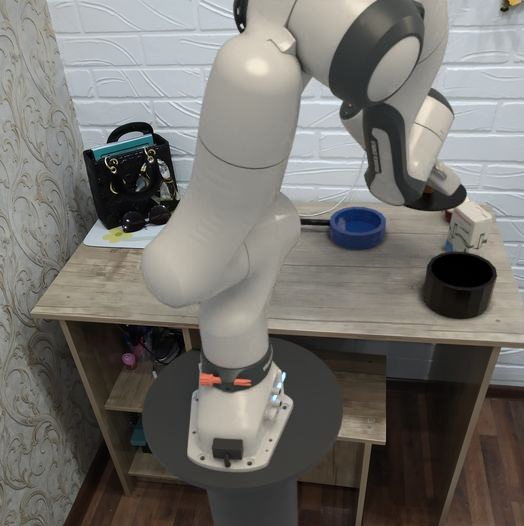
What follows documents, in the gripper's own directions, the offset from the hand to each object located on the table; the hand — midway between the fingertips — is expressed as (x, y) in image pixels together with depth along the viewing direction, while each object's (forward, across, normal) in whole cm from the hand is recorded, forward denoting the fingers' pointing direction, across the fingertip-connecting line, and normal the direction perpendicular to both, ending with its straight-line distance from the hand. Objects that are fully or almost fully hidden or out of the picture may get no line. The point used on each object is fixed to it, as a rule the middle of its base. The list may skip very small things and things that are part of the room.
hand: (431, 182), depth 115 cm
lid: (+1, 0, +2) cm, 2 cm away
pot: (+15, -12, +16) cm, 25 cm away
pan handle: (+7, +28, +21) cm, 35 cm away
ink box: (+25, -1, +6) cm, 26 cm away
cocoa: (+32, +12, 0) cm, 34 cm away
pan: (+14, +20, +17) cm, 30 cm away
